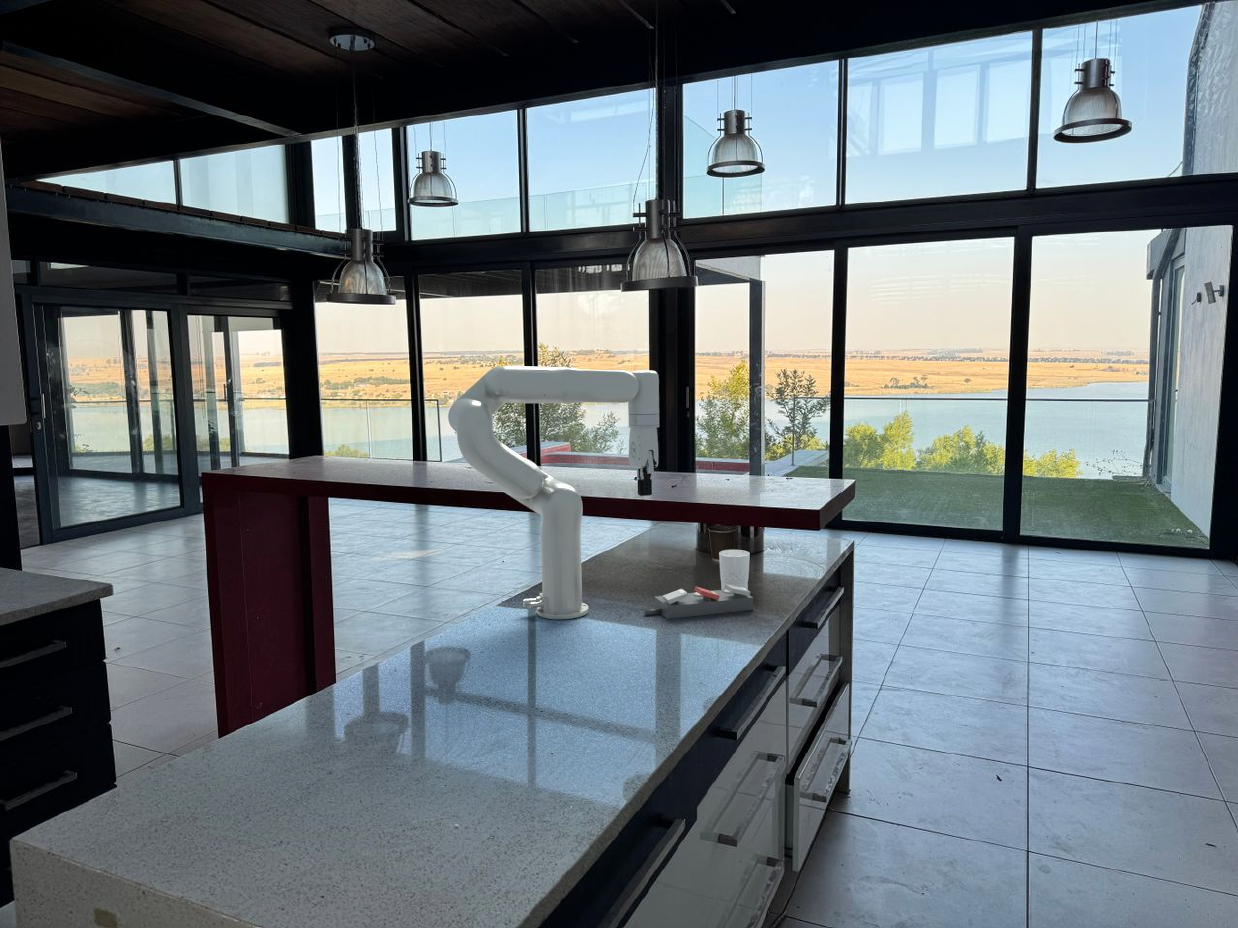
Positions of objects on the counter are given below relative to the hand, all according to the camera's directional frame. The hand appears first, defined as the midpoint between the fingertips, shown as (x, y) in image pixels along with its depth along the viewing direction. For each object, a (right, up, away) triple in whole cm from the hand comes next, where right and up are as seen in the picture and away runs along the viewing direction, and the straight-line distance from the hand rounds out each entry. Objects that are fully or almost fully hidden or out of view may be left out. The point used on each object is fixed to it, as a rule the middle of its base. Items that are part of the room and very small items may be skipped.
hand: (644, 495), depth 212 cm
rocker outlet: (+22, -23, -4) cm, 32 cm away
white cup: (+24, -26, +12) cm, 37 cm away
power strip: (+12, -28, -5) cm, 31 cm away
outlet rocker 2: (+15, -23, -6) cm, 28 cm away
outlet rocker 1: (+7, -24, -9) cm, 26 cm away
